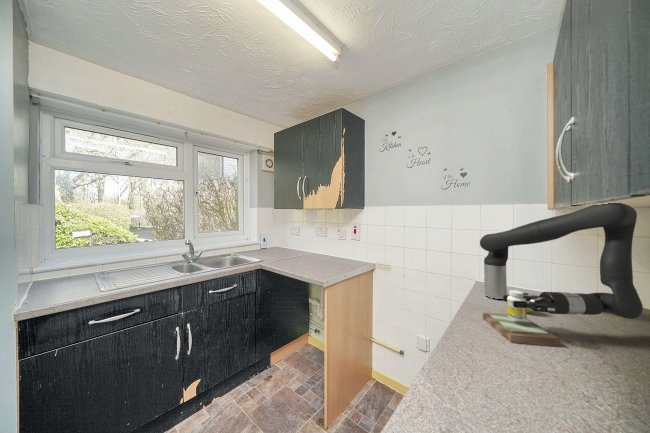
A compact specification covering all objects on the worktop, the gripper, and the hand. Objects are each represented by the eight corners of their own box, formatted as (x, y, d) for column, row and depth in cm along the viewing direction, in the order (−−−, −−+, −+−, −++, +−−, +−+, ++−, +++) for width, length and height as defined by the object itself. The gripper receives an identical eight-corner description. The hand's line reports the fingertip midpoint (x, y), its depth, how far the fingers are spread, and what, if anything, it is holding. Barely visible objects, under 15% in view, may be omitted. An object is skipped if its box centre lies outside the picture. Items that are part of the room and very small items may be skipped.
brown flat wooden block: (482, 318, 93) (482, 311, 93) (521, 321, 91) (521, 313, 91) (510, 342, 75) (510, 333, 75) (559, 346, 73) (559, 336, 73)
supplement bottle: (517, 321, 80) (516, 294, 80) (503, 315, 85) (502, 289, 85) (530, 320, 80) (529, 293, 81) (516, 314, 86) (515, 289, 86)
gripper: (545, 286, 87) (496, 285, 90) (580, 299, 73) (521, 297, 76) (546, 305, 87) (497, 304, 90) (581, 322, 73) (522, 319, 76)
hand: (508, 301), depth 83 cm, fingers closed on supplement bottle, 5 cm apart
